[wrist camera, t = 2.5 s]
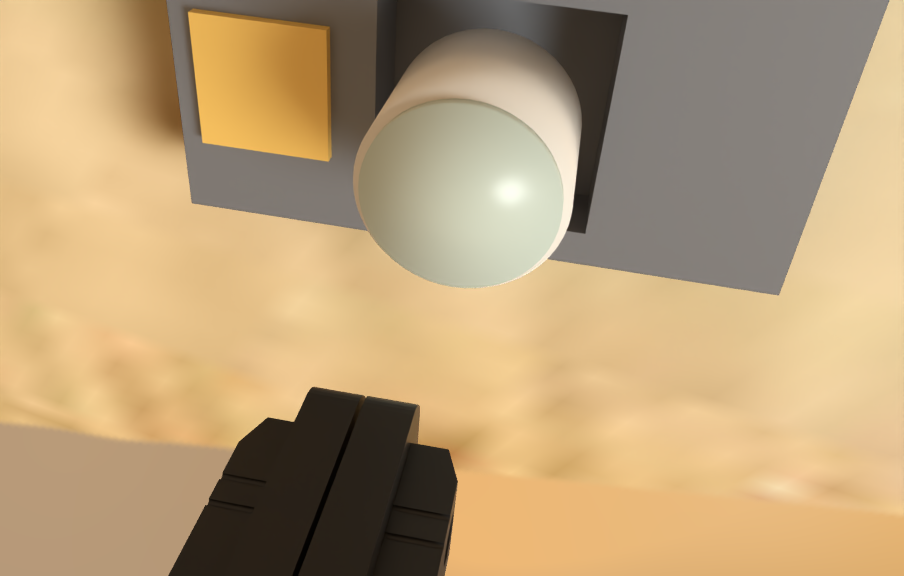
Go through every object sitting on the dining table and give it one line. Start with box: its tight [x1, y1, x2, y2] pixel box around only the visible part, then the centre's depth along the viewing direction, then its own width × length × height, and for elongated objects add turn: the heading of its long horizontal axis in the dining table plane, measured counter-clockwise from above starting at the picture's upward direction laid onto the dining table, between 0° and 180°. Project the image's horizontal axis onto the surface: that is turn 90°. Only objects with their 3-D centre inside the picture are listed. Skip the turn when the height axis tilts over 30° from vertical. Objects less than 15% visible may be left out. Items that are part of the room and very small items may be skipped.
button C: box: [353, 29, 582, 288], centre depth 19 cm, size 5×5×4 cm
